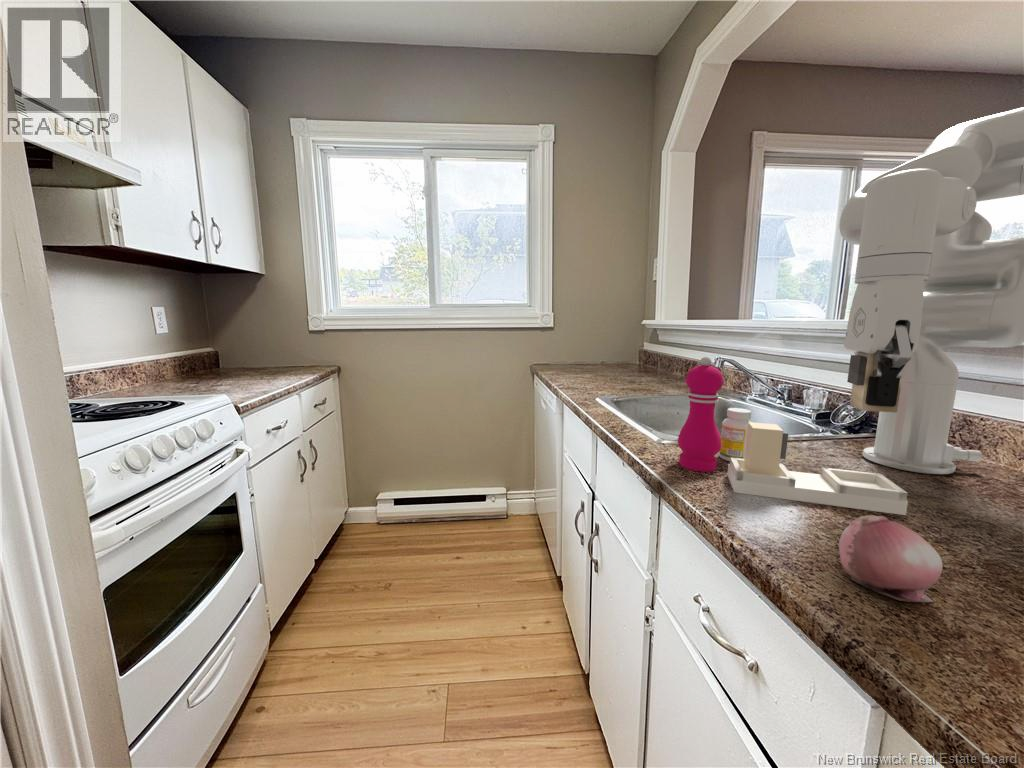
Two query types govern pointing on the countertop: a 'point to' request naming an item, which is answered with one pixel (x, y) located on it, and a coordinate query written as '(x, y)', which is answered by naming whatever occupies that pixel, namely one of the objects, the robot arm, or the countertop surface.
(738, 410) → the supplement bottle
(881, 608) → the countertop surface
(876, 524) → the pink shallot
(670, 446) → the countertop surface
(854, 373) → the block
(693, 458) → the pepper mill
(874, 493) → the rail
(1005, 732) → the countertop surface
